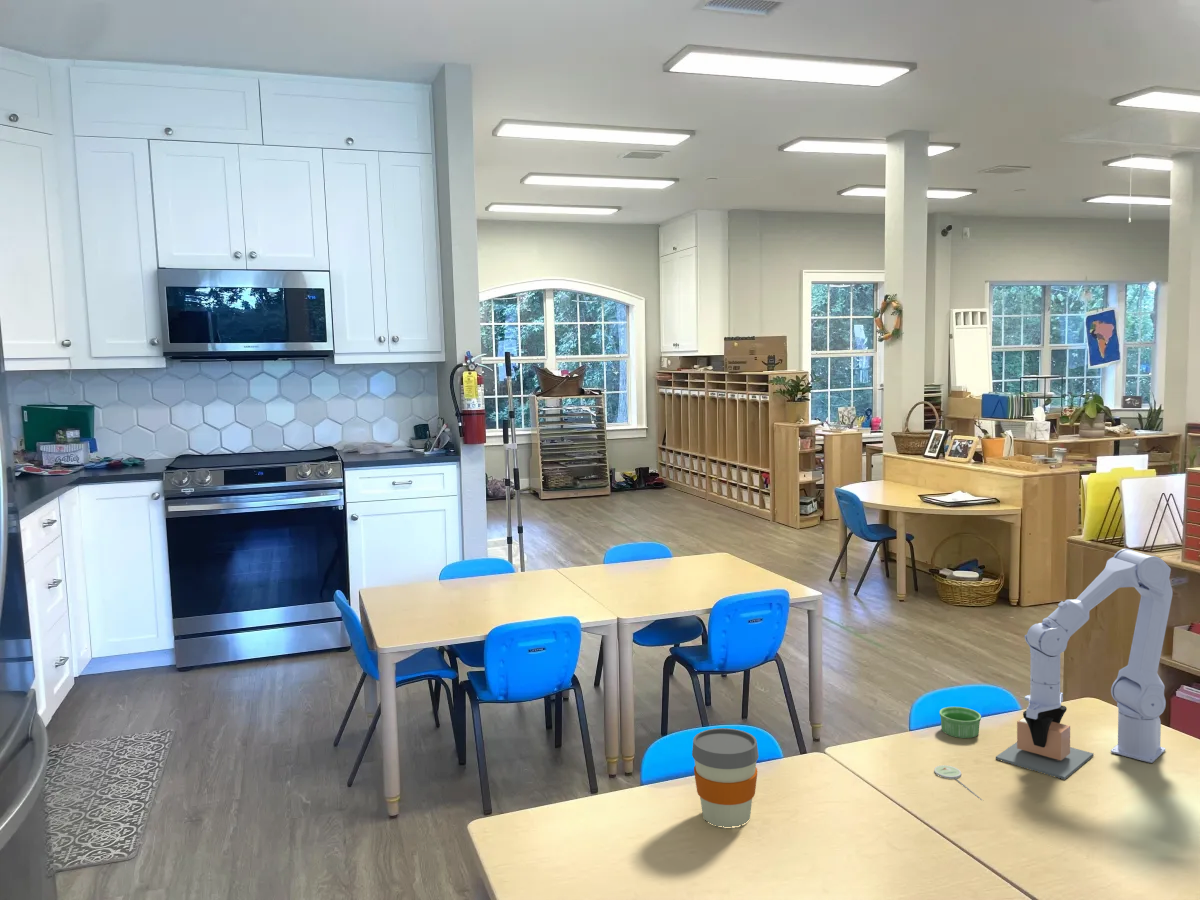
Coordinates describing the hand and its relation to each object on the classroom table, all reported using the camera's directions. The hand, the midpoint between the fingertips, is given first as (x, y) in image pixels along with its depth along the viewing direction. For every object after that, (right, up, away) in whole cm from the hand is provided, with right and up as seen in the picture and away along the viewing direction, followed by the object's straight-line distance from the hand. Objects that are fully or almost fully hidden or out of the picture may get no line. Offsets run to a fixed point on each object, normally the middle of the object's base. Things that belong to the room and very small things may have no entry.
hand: (1044, 741), depth 187 cm
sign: (-22, -6, -10) cm, 25 cm away
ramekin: (-12, -3, +15) cm, 20 cm away
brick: (0, -2, 0) cm, 2 cm away
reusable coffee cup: (-72, -7, -21) cm, 75 cm away
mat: (0, -4, 0) cm, 3 cm away
